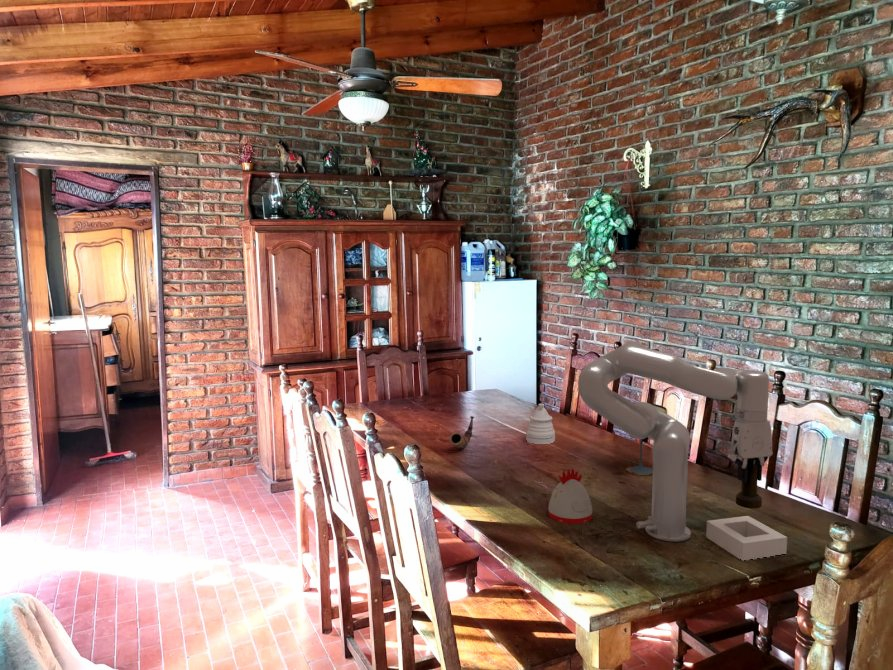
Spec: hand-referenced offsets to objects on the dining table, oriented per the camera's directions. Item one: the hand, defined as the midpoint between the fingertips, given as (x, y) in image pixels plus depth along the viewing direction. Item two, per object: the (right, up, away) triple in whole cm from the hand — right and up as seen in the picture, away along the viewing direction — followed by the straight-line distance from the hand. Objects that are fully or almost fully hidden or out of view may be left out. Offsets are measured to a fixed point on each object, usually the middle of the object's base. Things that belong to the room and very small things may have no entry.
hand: (749, 479), depth 172 cm
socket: (0, -19, +2) cm, 19 cm away
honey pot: (-42, -8, +104) cm, 113 cm away
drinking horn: (-77, -9, +101) cm, 127 cm away
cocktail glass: (-10, -12, +65) cm, 67 cm away
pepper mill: (0, -7, +1) cm, 7 cm away
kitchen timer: (-45, -17, +25) cm, 54 cm away
